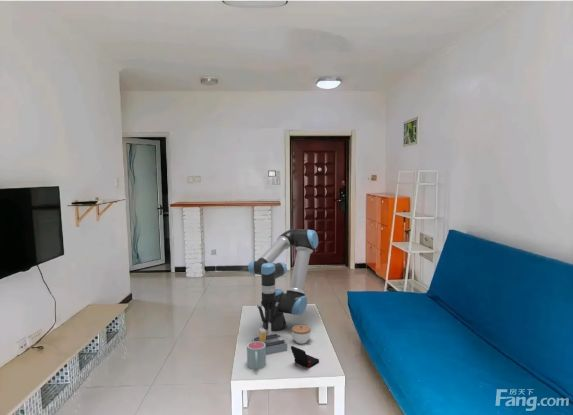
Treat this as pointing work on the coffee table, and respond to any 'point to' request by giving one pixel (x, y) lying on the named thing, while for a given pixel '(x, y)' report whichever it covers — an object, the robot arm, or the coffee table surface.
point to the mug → (256, 355)
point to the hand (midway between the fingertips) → (269, 334)
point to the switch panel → (274, 344)
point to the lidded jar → (301, 333)
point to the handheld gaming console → (303, 358)
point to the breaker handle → (262, 335)
